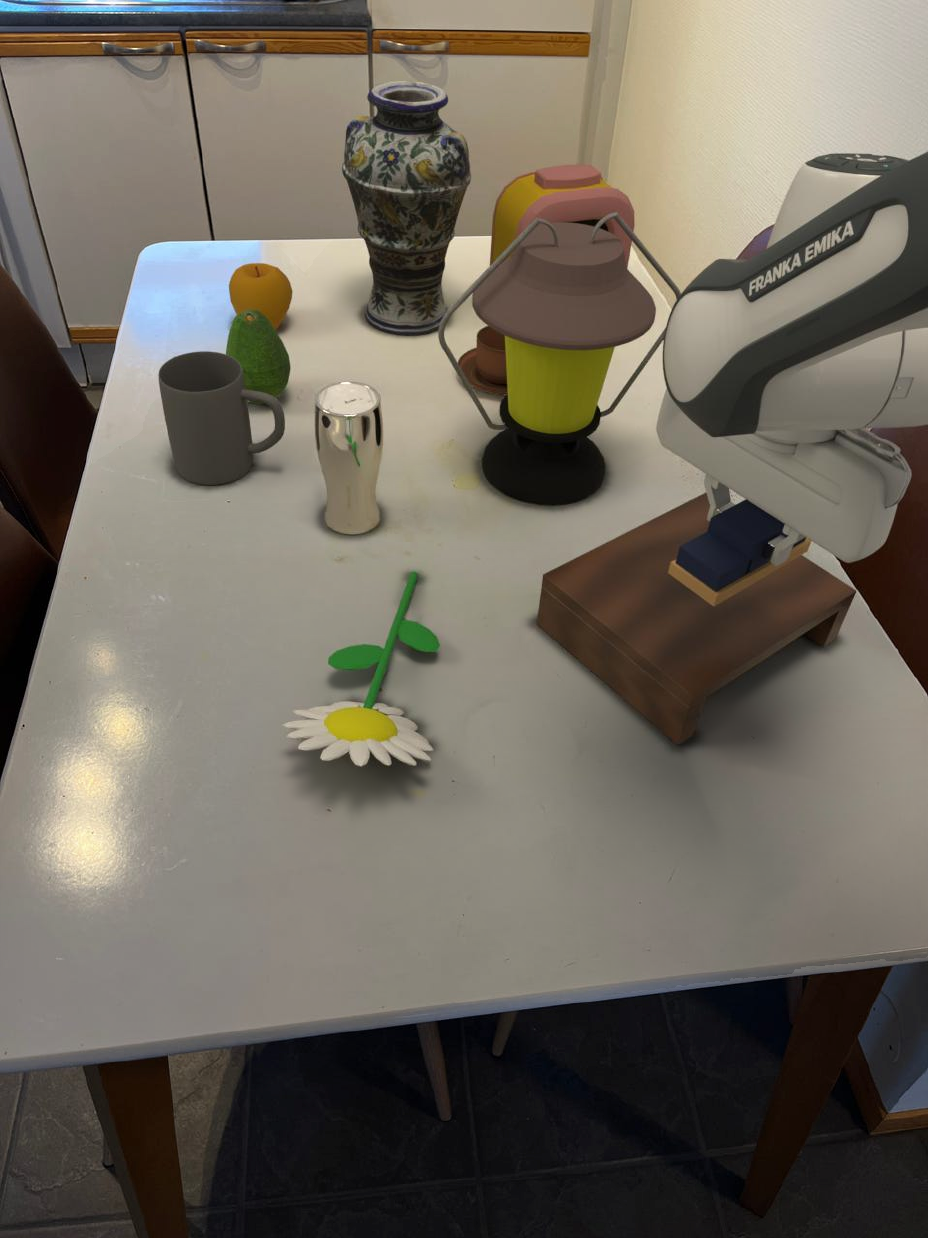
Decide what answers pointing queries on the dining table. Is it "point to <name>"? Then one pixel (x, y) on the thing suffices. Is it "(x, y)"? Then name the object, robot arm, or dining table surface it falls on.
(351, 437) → the beer glass
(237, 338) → the fruit
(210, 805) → the dining table surface
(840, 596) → the brown wooden stand
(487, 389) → the cup and saucer
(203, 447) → the mug
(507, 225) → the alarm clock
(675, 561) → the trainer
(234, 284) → the apple
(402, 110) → the vase
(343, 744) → the decorative flower
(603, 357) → the lantern
